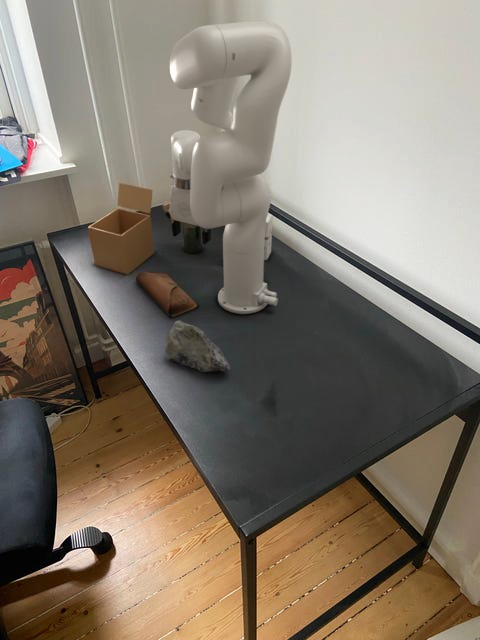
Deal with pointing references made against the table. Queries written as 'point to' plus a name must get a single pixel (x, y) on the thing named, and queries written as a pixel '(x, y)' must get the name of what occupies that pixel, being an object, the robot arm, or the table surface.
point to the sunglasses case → (166, 293)
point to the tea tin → (191, 238)
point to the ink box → (268, 236)
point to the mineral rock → (194, 349)
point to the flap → (135, 197)
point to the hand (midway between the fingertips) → (191, 238)
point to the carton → (121, 240)
